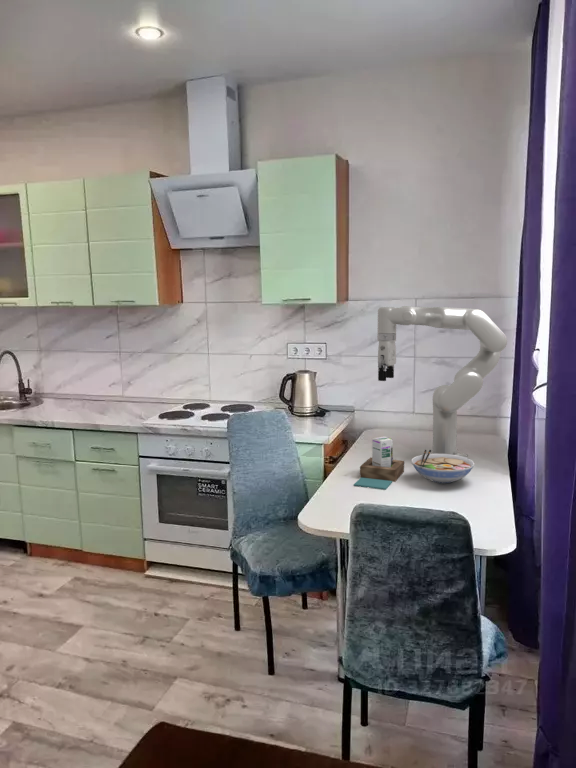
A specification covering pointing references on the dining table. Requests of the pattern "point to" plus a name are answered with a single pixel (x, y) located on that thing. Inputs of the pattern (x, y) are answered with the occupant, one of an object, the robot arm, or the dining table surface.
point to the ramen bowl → (442, 467)
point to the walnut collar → (382, 470)
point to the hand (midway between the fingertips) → (386, 379)
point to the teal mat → (373, 483)
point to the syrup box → (382, 452)
